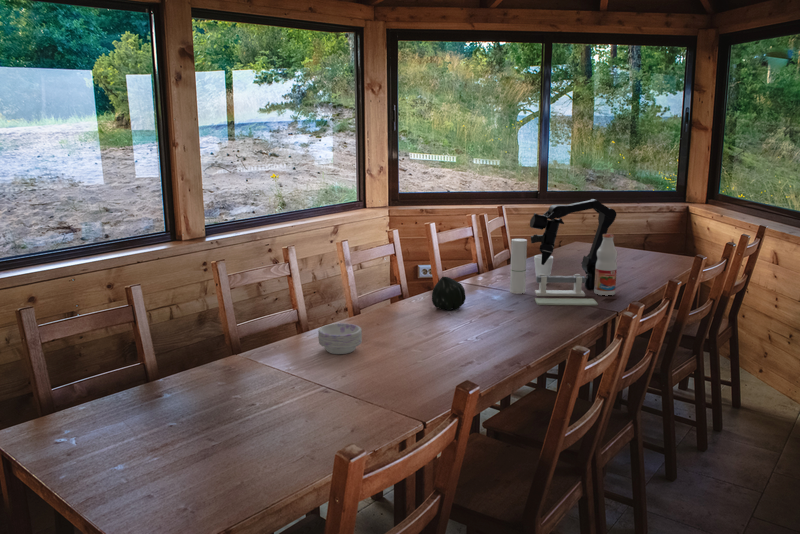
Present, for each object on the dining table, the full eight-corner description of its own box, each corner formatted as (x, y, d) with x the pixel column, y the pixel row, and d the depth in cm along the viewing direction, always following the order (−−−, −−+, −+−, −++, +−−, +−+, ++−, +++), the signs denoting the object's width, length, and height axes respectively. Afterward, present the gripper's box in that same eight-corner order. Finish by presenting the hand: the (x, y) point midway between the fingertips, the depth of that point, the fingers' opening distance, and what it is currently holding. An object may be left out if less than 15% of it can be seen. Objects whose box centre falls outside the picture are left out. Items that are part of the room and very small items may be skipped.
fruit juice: (607, 290, 300) (610, 232, 293) (619, 295, 291) (623, 235, 285) (589, 292, 297) (593, 233, 291) (601, 297, 288) (605, 236, 282)
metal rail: (583, 281, 293) (583, 276, 292) (585, 282, 290) (585, 277, 289) (535, 280, 294) (536, 275, 293) (536, 282, 291) (537, 277, 290)
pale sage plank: (593, 300, 283) (593, 298, 282) (597, 305, 275) (597, 303, 275) (534, 299, 284) (534, 298, 284) (537, 304, 276) (537, 303, 276)
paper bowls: (362, 342, 230) (362, 321, 229) (361, 357, 215) (361, 335, 214) (320, 343, 230) (320, 322, 228) (316, 358, 215) (316, 336, 213)
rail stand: (582, 292, 295) (583, 274, 293) (585, 296, 290) (586, 277, 288) (534, 292, 297) (535, 273, 295) (536, 295, 291) (537, 276, 289)
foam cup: (547, 285, 310) (548, 259, 307) (530, 282, 316) (531, 257, 313) (555, 281, 318) (556, 256, 315) (538, 278, 323) (539, 254, 320)
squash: (474, 292, 276) (451, 267, 276) (468, 303, 262) (445, 276, 262) (450, 311, 281) (428, 286, 281) (443, 322, 267) (420, 296, 267)
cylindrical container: (524, 290, 301) (526, 238, 296) (525, 293, 294) (527, 241, 289) (509, 289, 302) (510, 238, 297) (510, 293, 295) (512, 241, 290)
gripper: (535, 226, 306) (527, 257, 309) (532, 229, 288) (524, 261, 291) (558, 231, 303) (550, 262, 306) (557, 234, 286) (548, 267, 289)
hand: (542, 263), depth 298 cm, fingers open, 9 cm apart
